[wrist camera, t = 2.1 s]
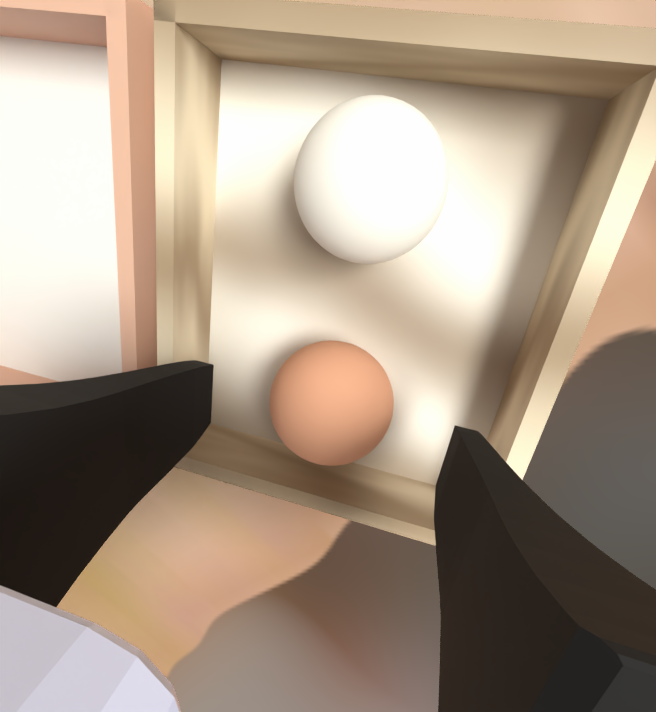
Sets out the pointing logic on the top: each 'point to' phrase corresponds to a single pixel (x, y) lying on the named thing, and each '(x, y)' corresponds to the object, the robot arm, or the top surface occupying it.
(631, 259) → the top surface
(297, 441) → the terracotta ball
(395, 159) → the cream ball
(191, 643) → the top surface
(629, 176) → the box
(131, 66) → the peach open box
